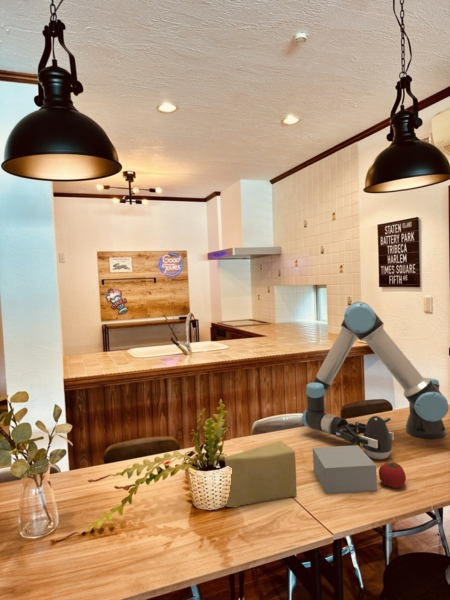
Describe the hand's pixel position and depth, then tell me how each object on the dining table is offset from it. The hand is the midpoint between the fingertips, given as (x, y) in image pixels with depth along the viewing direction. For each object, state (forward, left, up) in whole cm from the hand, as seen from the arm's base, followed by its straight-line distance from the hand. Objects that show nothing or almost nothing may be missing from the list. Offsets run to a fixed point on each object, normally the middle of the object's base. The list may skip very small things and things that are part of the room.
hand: (385, 440), depth 143 cm
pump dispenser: (+2, -3, -7) cm, 8 cm away
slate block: (+20, +13, -7) cm, 25 cm away
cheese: (+49, +22, -7) cm, 54 cm away
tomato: (+6, +18, -7) cm, 20 cm away
